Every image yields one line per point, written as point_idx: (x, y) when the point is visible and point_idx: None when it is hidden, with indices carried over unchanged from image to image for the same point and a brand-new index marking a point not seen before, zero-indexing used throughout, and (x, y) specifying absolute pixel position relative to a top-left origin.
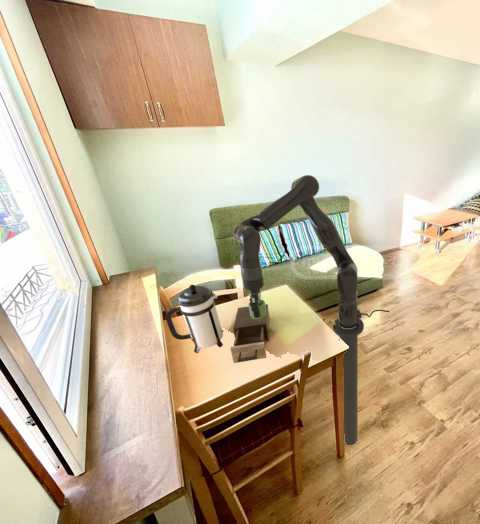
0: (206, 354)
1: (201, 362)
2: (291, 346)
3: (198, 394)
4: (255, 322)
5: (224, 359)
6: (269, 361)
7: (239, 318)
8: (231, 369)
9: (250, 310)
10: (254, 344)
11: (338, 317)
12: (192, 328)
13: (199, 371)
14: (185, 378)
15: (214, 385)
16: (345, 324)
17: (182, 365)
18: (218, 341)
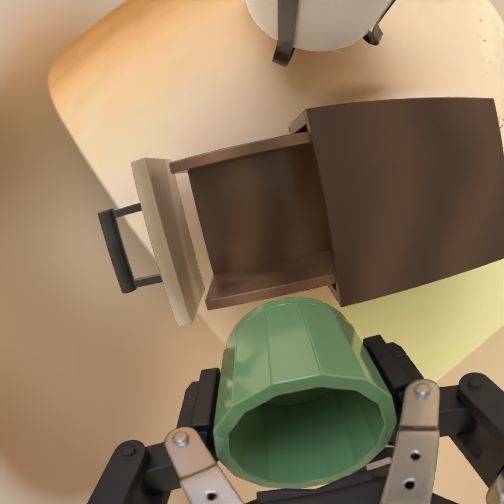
0: (252, 20)
1: (206, 23)
2: None
3: (64, 99)
4: (361, 238)
5: (219, 99)
6: (205, 288)
7: (408, 122)
8: (161, 152)
9: (233, 371)
10: (165, 283)
11: (387, 461)
12: None
13: (158, 40)
14: (130, 18)
15: (92, 128)
16: (355, 473)
17: None
18: (282, 45)
